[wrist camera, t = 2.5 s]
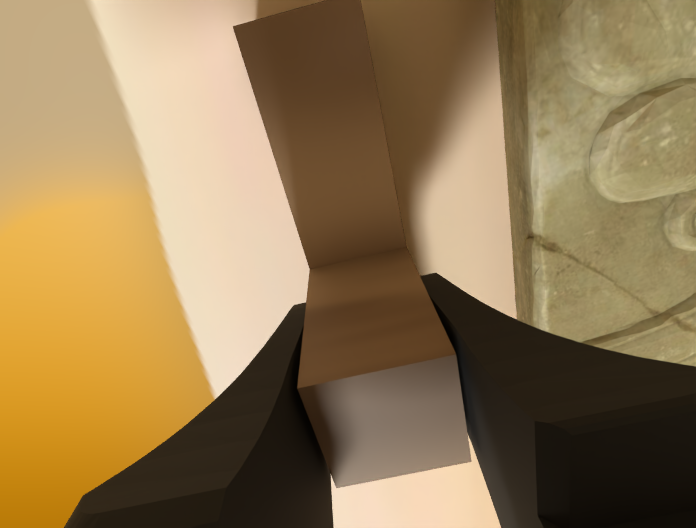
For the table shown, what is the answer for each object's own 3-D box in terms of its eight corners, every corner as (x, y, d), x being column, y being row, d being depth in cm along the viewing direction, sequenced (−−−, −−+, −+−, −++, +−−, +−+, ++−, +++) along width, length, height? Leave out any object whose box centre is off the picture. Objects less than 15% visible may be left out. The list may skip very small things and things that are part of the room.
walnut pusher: (427, 399, 18) (492, 608, 11) (366, 412, 18) (390, 625, 11) (352, 13, 11) (390, -109, 4) (255, 39, 12) (132, -32, 4)
